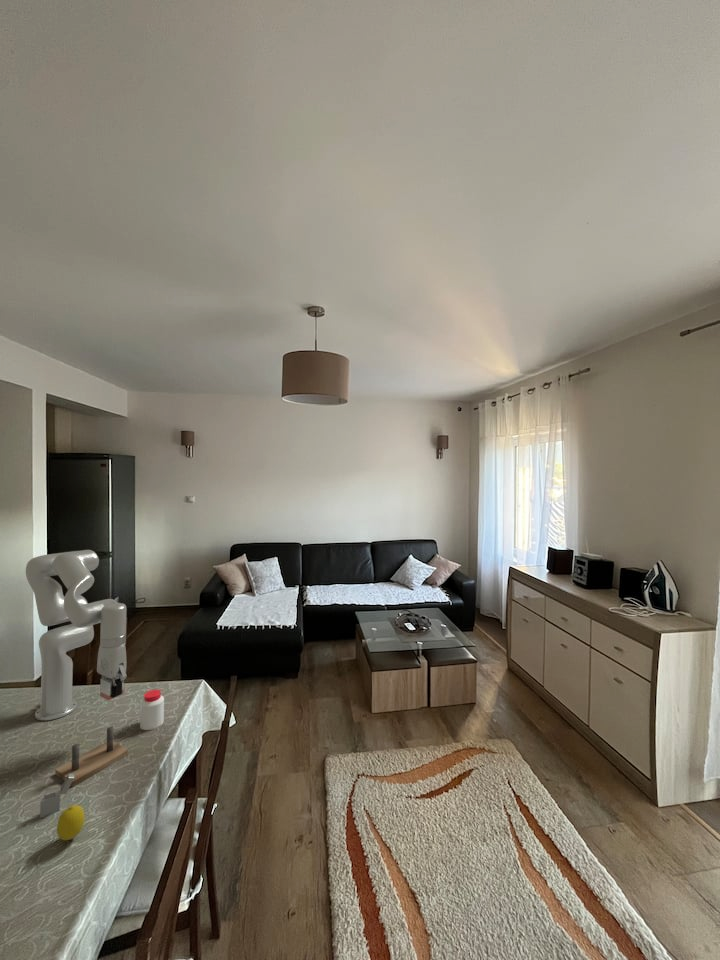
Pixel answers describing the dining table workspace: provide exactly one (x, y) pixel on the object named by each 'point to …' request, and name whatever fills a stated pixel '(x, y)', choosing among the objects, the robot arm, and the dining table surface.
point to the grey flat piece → (54, 798)
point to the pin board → (92, 760)
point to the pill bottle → (152, 710)
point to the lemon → (70, 822)
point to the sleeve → (108, 687)
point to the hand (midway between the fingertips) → (111, 693)
